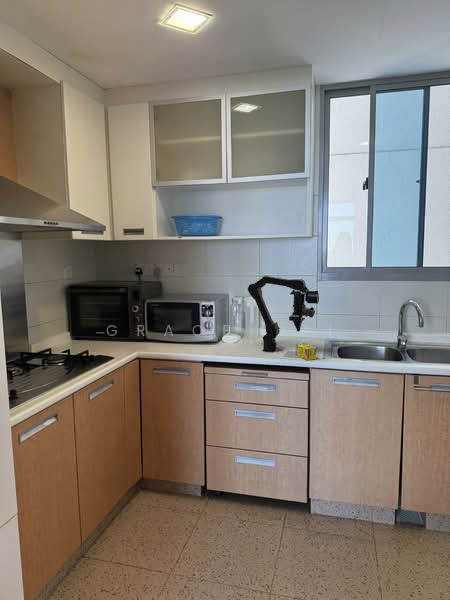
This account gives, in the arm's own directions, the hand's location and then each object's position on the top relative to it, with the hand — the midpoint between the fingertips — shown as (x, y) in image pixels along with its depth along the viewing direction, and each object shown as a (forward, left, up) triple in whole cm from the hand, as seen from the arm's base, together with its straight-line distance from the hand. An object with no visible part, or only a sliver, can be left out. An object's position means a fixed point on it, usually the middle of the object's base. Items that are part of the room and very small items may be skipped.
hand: (298, 331), depth 221 cm
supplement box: (+2, -3, -9) cm, 10 cm away
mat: (0, -4, -12) cm, 13 cm away
